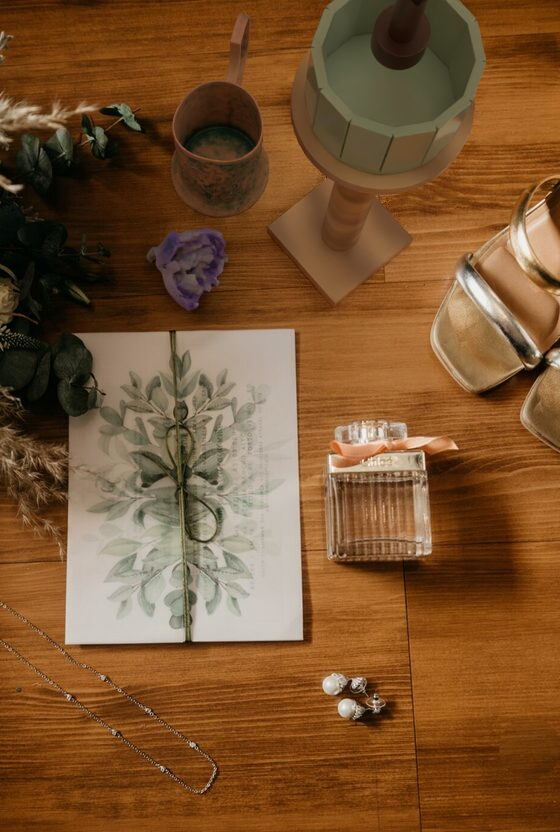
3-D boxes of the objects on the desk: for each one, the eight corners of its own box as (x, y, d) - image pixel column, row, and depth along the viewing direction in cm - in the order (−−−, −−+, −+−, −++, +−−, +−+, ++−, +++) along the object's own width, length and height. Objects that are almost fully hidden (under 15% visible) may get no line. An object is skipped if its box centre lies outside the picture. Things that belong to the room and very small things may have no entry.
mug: (291, 90, 86) (299, 16, 74) (255, 227, 84) (258, 174, 72) (198, 68, 86) (191, -9, 74) (160, 204, 85) (147, 147, 73)
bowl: (390, -1, 59) (406, -58, 54) (492, 109, 58) (519, 63, 53) (274, 92, 58) (277, 44, 53) (375, 205, 58) (390, 169, 52)
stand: (345, 152, 85) (391, -20, 59) (428, 245, 84) (513, 111, 58) (248, 230, 84) (253, 90, 58) (332, 325, 83) (374, 225, 57)
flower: (108, 265, 77) (188, 258, 73) (137, 213, 81) (215, 204, 77) (145, 327, 84) (221, 324, 80) (170, 277, 88) (243, 271, 84)
